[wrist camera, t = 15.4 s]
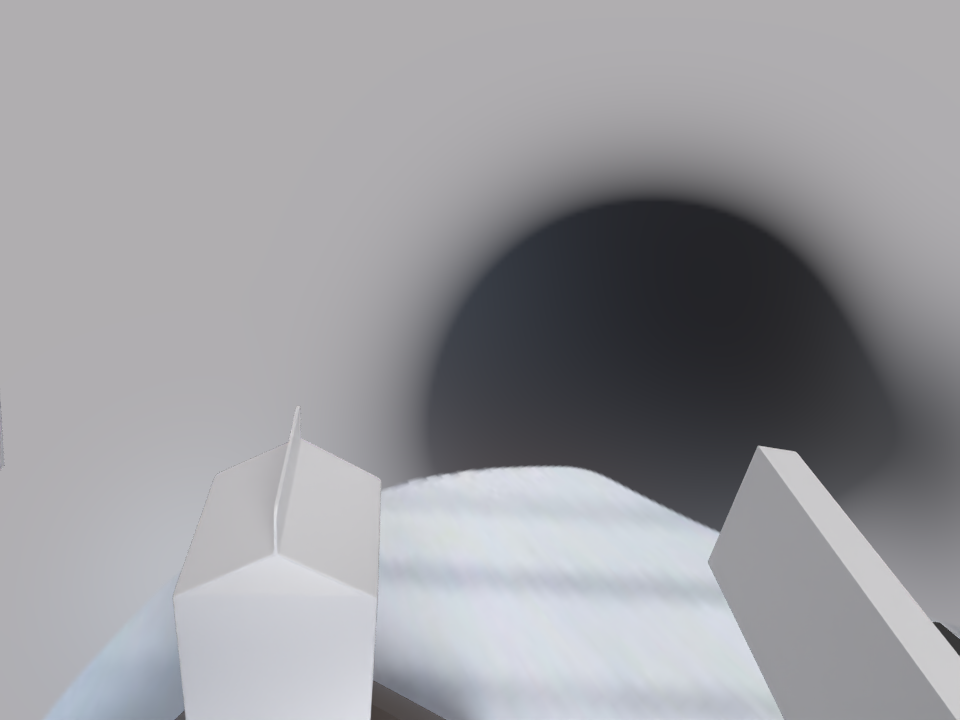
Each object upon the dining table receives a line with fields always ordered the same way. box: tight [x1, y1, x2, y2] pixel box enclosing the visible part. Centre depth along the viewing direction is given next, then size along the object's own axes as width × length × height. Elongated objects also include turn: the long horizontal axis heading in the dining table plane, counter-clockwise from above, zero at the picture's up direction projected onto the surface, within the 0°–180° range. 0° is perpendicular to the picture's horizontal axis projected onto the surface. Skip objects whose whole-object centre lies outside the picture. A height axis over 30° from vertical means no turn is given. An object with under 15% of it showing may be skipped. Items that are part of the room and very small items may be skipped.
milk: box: [173, 405, 381, 720], centre depth 28 cm, size 6×6×22 cm
